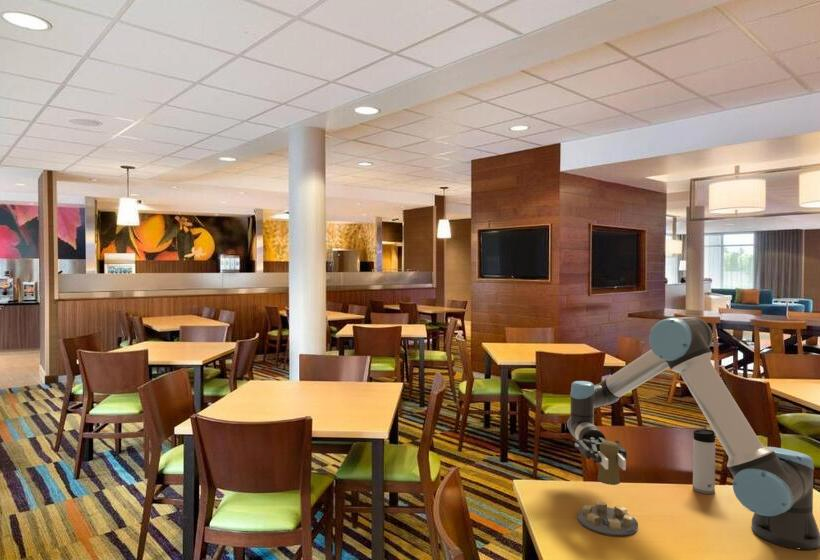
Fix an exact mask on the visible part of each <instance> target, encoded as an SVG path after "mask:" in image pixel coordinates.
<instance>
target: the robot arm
mask: <svg viewBox="0 0 820 560" xmlns="http://www.w3.org/2000/svg"><path fill="white" fill-rule="evenodd" d="M713 340H714V334H713V330H712V329H711V327H710V325H709V324H708V323H707V322H706V321H704V320H703V319H702V318H700V317H696V316H681V317H680V316H679V317H675V316H674V317H673V316H672V317H668V318H664V319H661V320H659V321H658V322H657V323H655V324H654V325H653V326H652V327H651V330H650V332H649V336H648V343H649V347H650V349H649V350H648V351H646V352H645V353H644V354H642V355H640V356H639V357H637V358H636V359H634V360H633V361H631V362H629V363H628V364H627V365H625V366H624V367H622V368H621V369H619V370H618V371H615V372H614V373H612V374H611V375H610V376H608V377H607V378H605V379H603V380H602V381H601V382H599V383H597V384H594V383H593V382H591V381H587V380H575V381H573V382H572V383H571V387H570V391H569V392H570V393H569V394H570V417H569V418H568V419H567V422H566V424H567V425H566V426H567V429H568V431H569V433H570V435H571V436H572V437H574V439H575V440H574V449H576V450H578V451H579V452H580V453H581V454H582V455H583V457H584V458H586V459H588V460H590V459H592V462H593V463H596V464H597V463H599V465H600V464H601V465H602V466H603V467H604V468H605V469H608V459H607V458H606V456H605V455H604V454H603V453H601V451H600V443H601V442H602V441H609V440H608V439H606V437H605V436H606V435H604V433H603V432H602V431H601V430H600V429H599V427H597V426H596V425H595V424H594V423H595V422H594V417H595V409H597V408H600V407H604V406H609V405H612V404H614V403H617V402H618V401H619V400H620V398H621V397H622V396H624V395H626V394H628V393H629V392H631V391H633V390H634V389H636V388H638V387H640V386H641V385H643V384H644V383H646V382H648V381H649V380H651V379H653V378H655V377H656V376H658V375H659V374H661V373H662V372H664V371H666V370H668V369H670V370H671V372H674V373H677V374H679V375H680V377H681V378H682V380H683V382H684V383H685V385H686V387H687V388H688V390H689V392H690V393H691V395H692V397H693V399H694V400H695V402H696V404H697V406H698V407H699V409H700V411H701V412H702V414H703V416H704V417H705V419H706V421H707V422H708V424H709V426H710V428H711V430H713V431H714V433H715V437H716V438H717V440H718V441H719V443H720V444H721V446H722V448H723V450H724V452H725V453H726V455H727V456H728V460H727V465H726V467H727V468H728V470H729V472H730V473H731V475H732V478H733V480H732V490H733V493H734V496H735V497H736V498H737V500H738V501H739V502H740V504H741V505H742V506H744V508H746V509H747V510H748V511H750V512H753V515H752V518H751V530H752V532H753V533H754V534H756V535H757V537H760V538H761V539H763V540H765V541H767V542H770V543H772V544H775V545H778V546H781V547H784V546H785V547H786V548H788V547H790V548H789V549H793V548H800V549H813V550H816V549H815V548H817V549H819V548H820V530H819V527H818V525H817V521H816V518H815V516H814V514H813V513H814V511H813V509H814V507H813V505H814V503H813V502H814V471H815V467H814V460H813V459H812V457H811V456H809V455H808V454H805V453H802V452H799V451H795V450H791V449H786V448H782V447H775V446H765V445H763V444H762V442H761V441H760V438H759V437H758V435H757V434H756V433H755V431H754V429H753V427H752V426H751V424H750V423H749V421H748V419H747V418H746V416H745V415H744V413H743V411H742V410H741V408H740V407H739V405H738V403H737V402H736V400H735V399H734V397H733V395H732V394H731V392H730V390H729V389H728V387H727V385H726V384H725V383H724V381H723V379H722V377H721V376H720V374H719V373H718V371H717V369H716V368H715V366H714V365H713V363H712V361H711V359H712V356H713V352H712V351H711V348H710V347H711V346H712V344H713ZM614 442H615V443H617V444H618V446H619V453H618V454H617V462H618V467H619V468H621V469H622V470H623V471H626V469H627V450H625V448H624V447H623V446H622V445H621V444H620V441H618V440H615V441H614ZM818 547H819V548H818ZM800 549H799V550H800Z"/></svg>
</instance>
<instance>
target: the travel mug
mask: <svg viewBox="0 0 820 560" xmlns="http://www.w3.org/2000/svg"><path fill="white" fill-rule="evenodd" d="M692 440H693V441H692V442H693V445H692V446H693V447H692V456H693V457H692V489H693V490H694V491H695V492H697V493H699V494H703V495H713V494H715V492H716V488H715V487H716V434H715V433H714V431H713V429H708V428H707V429H705V428H702V429H695V430H694V431H693V438H692Z"/></svg>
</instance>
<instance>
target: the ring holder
mask: <svg viewBox="0 0 820 560" xmlns="http://www.w3.org/2000/svg"><path fill="white" fill-rule="evenodd" d="M613 507H614V508H613ZM613 507H608V505H607V503H606V502H605V501H594V506H593V505H589V504H584V505H583V506H582V508H581V509H579V510H578V512H577V521H578V523H579V524H580V525H581V526H582V527H584V528H586V529H587V530H589V531H591V532H592V533H593V532H594V533H596V534H600V535H603V536H607V537H616V538H617V537H621V538H623V537H629V536H632V535H634V534H636V533H637V532H638V530H639V523H638V520H637V519H636V518H635V517H633V515H631V514H629V513H628V508H625V507H623V506H621V505H615V506H613Z"/></svg>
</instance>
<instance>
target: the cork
mask: <svg viewBox="0 0 820 560" xmlns="http://www.w3.org/2000/svg"><path fill="white" fill-rule="evenodd" d="M600 451H601V453H603V454H604V455H605V456H606V458H607V459H608V469H605V468H604V467H603V466H602V465H601V464H600V463H599V467H598V473H597V481H598V482H600V483H601V484H605V485H609V486H617V485H619V484H621V480H620V479H621V478H620V471H619V465H618V462H617V454H618V453H619V446H618V444H617V443H615V441H612V440H608V441H602V442H601V443H600Z"/></svg>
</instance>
